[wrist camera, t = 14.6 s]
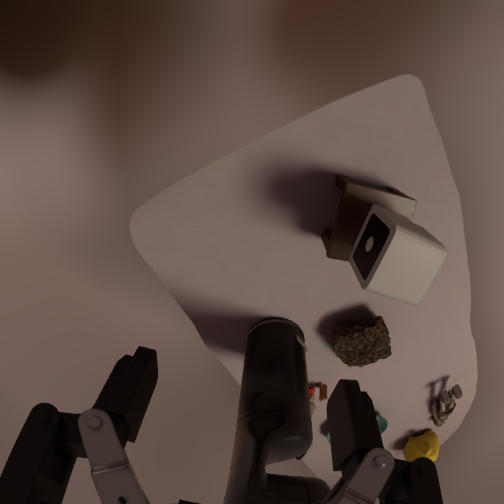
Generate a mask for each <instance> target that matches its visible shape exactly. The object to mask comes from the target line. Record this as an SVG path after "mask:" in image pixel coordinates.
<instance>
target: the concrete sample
mask: <svg viewBox="0 0 504 504" xmlns="http://www.w3.org/2000/svg"><path fill="white" fill-rule="evenodd" d="M388 335H389V332H388V329H387V326H386V325H385V323H384V321H383V317H381V316H377V317H375V318H374V319H369V320H364V321H359V322H357V323H348V324H344V323H341V324H340V326H338V328H335V329H334V330H333V332H332V342H333V350H334V351H335V352H336V354H337V357H338V358H340V359H341V360H342V362H344V363H345V364H347V365H348V366H349V367H351V366H359V367H362V366H364V365H368V364H370V363H374V362H376V361H377V360H379V359H385V358H387V357H388V356H390V355H391V346H389V345H390V343H391V342H390V338H389V336H388Z"/></svg>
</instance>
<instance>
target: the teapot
mask: <svg viewBox="0 0 504 504" xmlns="http://www.w3.org/2000/svg"><path fill="white" fill-rule="evenodd" d="M430 431H431V430H428V431H426V432H425V433H424V434H423V435H420V436H417V437H415V436H412V437H410V438H409V439H408V440H409V441H408V442H407V443H406V445H405V447H404V451H403V454H404V457H405V459H406V461H410V462H412V461H414V460H415V459H416V458H418V457H427V458H429V459H431V460H432V461H433V462H434V461H435V460H436V459H437V457H438V453H439V440H438V436H437V434H436V433H434V432H430Z"/></svg>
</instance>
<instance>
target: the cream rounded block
mask: <svg viewBox="0 0 504 504" xmlns="http://www.w3.org/2000/svg"><path fill="white" fill-rule="evenodd" d="M354 246H355V247H354V249H353V251H352V253H351V255H350V264H351V266H352V268H353V270H354V272H355V274H356V276H357V279H358V281H359V283H360V285H361V287H362V289H364V290H367V291H370V292H373V293H376V294H380V295H383V296H386V297H389V298H392V299H395V300H399V301H402V302H405V303H408V304H411V305H418V304H419V303H420V301H421V300H422V298H423V296H424V295H425V293H426V291H427V290H428V288H429V286H430V285H431V283H432V281H433V280H434V278H435V276H436V274H437V273H438V271H439V269H440V267H441V265H442V264H443V262H444V260H445V258H446V255H447V249H446V247H445V246H444V245H443V244H442V243H441V242H439V241H438V240H437V239H436V238H435V237H434V236H432V235H431V234H430V233H429V232H428V231H427V230H425V229H424V228H423V227H421V226H419V225H417V224H414V223H413V222H412V221H411V220H409V219H407V218H405V217H403V216H401V215H399V214H397V213H394V212H392V211H390V210H388V209H386V208H383V207H381V206H379V205H376V204H373V205H372V207H371V209H370V211H369V213H368V216H367V218H366V220H365V222H364V224H363V227H362V229H361V231H360V233H359V235H358V237H357V240H356V242H355V244H354Z"/></svg>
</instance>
